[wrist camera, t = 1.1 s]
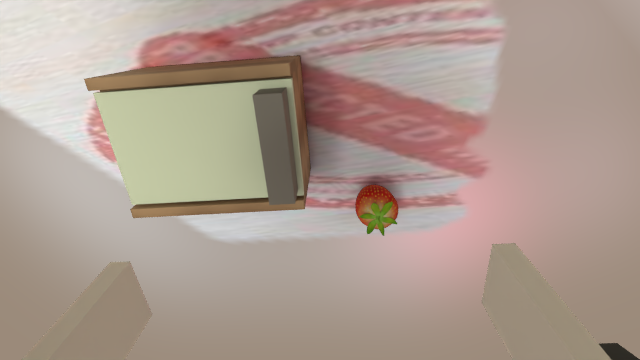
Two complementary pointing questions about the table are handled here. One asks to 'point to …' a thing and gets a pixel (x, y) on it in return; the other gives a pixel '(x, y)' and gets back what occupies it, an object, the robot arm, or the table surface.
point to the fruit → (376, 208)
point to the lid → (206, 141)
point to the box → (208, 75)
